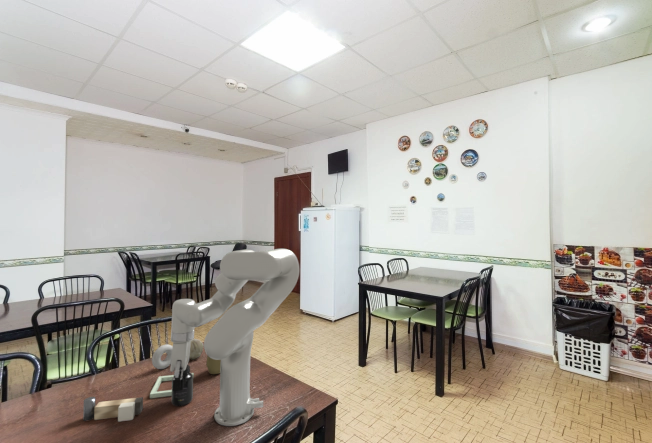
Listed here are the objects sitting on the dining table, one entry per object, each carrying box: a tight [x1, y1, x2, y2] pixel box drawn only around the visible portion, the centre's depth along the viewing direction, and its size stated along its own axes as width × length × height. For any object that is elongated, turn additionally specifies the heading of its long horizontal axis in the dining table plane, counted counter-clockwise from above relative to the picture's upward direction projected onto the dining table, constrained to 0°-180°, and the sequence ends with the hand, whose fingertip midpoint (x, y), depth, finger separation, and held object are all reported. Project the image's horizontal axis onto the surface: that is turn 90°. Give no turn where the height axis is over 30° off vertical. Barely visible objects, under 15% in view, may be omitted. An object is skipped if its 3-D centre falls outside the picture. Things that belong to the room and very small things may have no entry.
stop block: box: [117, 402, 135, 422], centre depth 100 cm, size 4×2×4 cm, turn 106°
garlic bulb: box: [189, 338, 204, 361], centre depth 144 cm, size 9×8×10 cm
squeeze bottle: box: [206, 354, 221, 375], centre depth 132 cm, size 8×8×18 cm
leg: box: [93, 396, 144, 421], centre depth 102 cm, size 13×3×4 cm, turn 105°
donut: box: [151, 343, 173, 370], centre depth 133 cm, size 10×4×10 cm, turn 149°
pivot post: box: [82, 396, 96, 422], centre depth 100 cm, size 3×3×6 cm
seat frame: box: [149, 372, 195, 399], centre depth 119 cm, size 13×13×2 cm
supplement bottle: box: [171, 364, 194, 407], centre depth 110 cm, size 7×7×12 cm
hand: (180, 382), depth 110 cm, fingers open, 9 cm apart
